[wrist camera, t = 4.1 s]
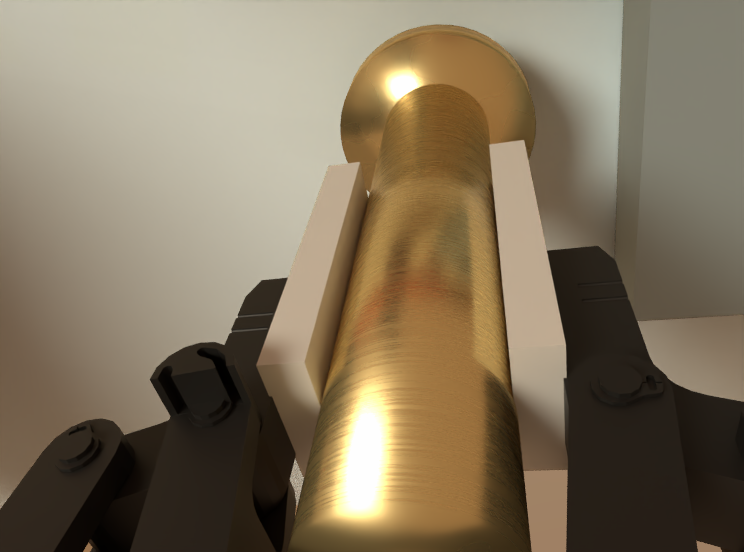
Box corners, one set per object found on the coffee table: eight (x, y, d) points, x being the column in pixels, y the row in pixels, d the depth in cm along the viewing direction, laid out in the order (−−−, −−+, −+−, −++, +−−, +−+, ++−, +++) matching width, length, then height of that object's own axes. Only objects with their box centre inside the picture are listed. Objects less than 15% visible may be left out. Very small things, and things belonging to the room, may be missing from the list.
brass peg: (365, 211, 21) (259, 668, 10) (326, 42, 18) (101, 437, 6) (536, 191, 20) (638, 683, 9) (527, 7, 16) (673, 412, 5)
